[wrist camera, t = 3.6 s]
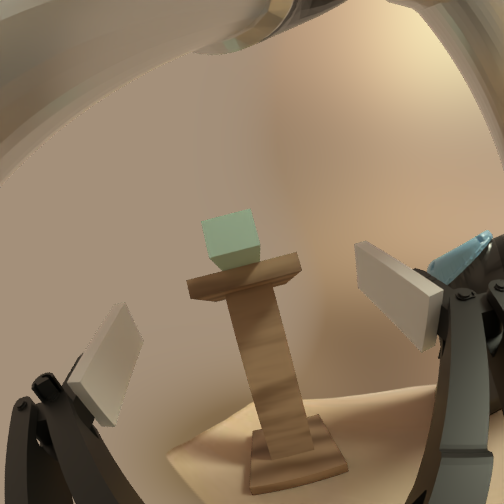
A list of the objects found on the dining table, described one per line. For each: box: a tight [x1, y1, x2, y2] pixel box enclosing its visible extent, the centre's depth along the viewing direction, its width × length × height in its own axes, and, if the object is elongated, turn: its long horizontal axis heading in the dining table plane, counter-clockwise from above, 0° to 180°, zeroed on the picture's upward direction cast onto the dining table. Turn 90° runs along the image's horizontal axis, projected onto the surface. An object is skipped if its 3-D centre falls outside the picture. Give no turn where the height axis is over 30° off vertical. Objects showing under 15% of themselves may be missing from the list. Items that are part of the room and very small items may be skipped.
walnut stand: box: [186, 252, 348, 495], centre depth 35 cm, size 18×12×28 cm, turn 179°
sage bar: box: [201, 209, 260, 271], centre depth 31 cm, size 19×4×3 cm, turn 178°
